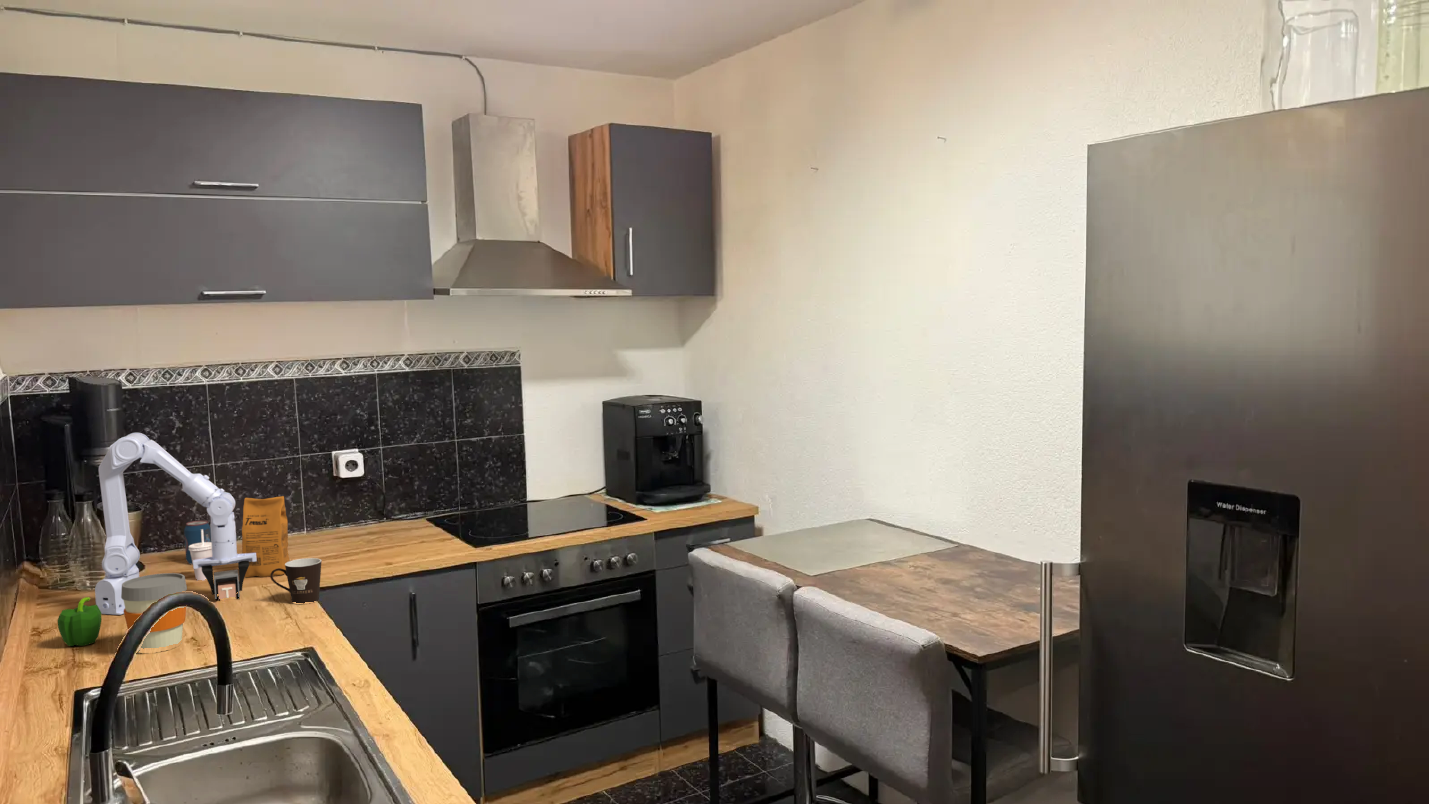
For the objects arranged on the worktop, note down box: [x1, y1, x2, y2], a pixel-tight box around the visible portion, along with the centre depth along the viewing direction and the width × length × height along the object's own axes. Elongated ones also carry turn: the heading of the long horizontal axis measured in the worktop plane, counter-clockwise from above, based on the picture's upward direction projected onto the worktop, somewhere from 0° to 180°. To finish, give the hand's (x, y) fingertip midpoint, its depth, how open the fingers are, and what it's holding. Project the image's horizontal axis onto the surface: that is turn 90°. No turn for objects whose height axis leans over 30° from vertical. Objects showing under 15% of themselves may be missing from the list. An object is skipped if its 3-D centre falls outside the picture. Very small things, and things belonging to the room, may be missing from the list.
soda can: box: [183, 520, 211, 565], centre depth 284 cm, size 7×7×12 cm
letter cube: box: [218, 580, 237, 600], centre depth 246 cm, size 4×4×4 cm
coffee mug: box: [270, 557, 322, 603], centre depth 243 cm, size 12×9×10 cm
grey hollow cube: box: [213, 568, 241, 600], centre depth 246 cm, size 6×6×6 cm
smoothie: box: [188, 529, 212, 581], centre depth 265 cm, size 6×6×14 cm
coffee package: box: [241, 495, 291, 579], centre depth 269 cm, size 10×12×22 cm
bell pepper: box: [57, 596, 102, 647], centre depth 213 cm, size 8×8×10 cm
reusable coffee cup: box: [121, 572, 188, 652], centre depth 210 cm, size 13×13×15 cm
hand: (227, 591), depth 246 cm, fingers closed on grey hollow cube, 6 cm apart
